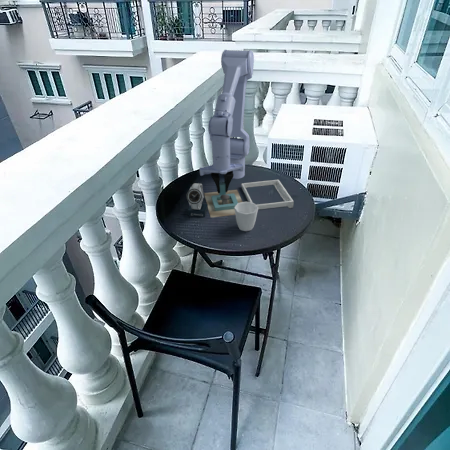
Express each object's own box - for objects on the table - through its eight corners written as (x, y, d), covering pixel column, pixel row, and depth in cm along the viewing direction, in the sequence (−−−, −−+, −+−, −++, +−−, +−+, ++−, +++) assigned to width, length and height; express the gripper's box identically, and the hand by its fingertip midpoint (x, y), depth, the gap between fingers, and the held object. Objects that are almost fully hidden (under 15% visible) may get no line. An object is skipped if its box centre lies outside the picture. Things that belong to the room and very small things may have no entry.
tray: (241, 189, 121) (241, 183, 120) (278, 185, 123) (278, 179, 121) (252, 212, 108) (252, 206, 107) (293, 207, 110) (293, 201, 109)
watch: (186, 221, 104) (183, 191, 98) (193, 208, 111) (190, 178, 105) (204, 223, 104) (202, 192, 97) (209, 209, 110) (207, 179, 104)
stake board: (204, 195, 118) (203, 186, 116) (237, 192, 119) (237, 183, 117) (210, 220, 105) (210, 210, 103) (247, 215, 107) (247, 206, 104)
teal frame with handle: (210, 195, 115) (210, 183, 113) (233, 193, 117) (232, 180, 114) (215, 211, 107) (214, 197, 105) (239, 208, 108) (239, 195, 106)
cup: (233, 236, 98) (233, 213, 93) (235, 217, 106) (235, 195, 101) (257, 237, 97) (258, 214, 92) (257, 218, 105) (258, 196, 101)
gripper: (200, 161, 102) (202, 199, 110) (246, 157, 104) (245, 194, 112) (197, 152, 108) (200, 189, 116) (241, 148, 110) (240, 185, 118)
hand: (222, 191), depth 114 cm, fingers closed on teal frame with handle
